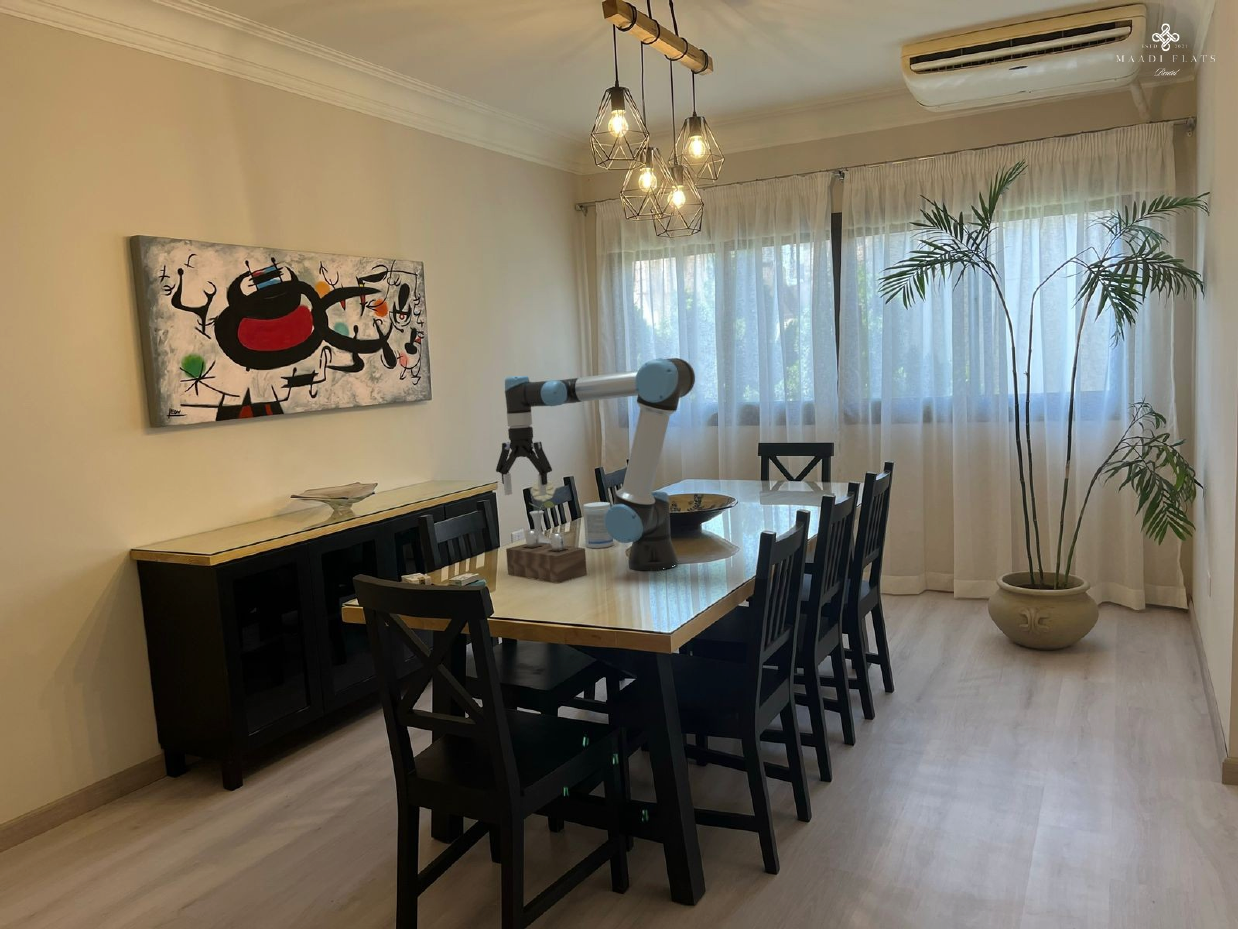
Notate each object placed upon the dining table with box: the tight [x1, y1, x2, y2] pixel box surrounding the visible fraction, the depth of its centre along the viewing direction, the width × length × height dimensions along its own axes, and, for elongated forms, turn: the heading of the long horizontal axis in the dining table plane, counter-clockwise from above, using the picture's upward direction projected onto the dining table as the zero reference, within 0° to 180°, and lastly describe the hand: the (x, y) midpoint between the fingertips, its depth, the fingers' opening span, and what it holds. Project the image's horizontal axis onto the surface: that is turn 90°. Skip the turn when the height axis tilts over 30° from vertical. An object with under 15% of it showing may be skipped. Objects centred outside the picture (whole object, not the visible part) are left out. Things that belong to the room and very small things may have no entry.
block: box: [505, 542, 588, 584], centre depth 276 cm, size 22×12×8 cm, turn 48°
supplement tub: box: [582, 501, 614, 549], centre depth 314 cm, size 10×10×15 cm
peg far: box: [524, 528, 539, 549], centre depth 279 cm, size 4×4×8 cm
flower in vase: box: [524, 479, 556, 544], centre depth 308 cm, size 13×11×25 cm
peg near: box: [549, 531, 565, 553], centre depth 272 cm, size 4×4×8 cm
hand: (525, 495), depth 283 cm, fingers open, 13 cm apart
